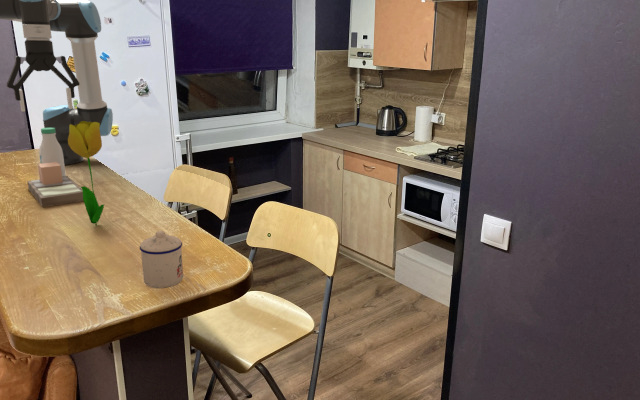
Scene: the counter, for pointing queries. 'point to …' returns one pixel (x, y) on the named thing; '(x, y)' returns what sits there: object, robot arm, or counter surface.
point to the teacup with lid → (162, 260)
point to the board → (56, 192)
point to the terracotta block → (50, 173)
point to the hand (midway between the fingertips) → (47, 110)
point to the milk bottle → (51, 149)
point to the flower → (86, 145)
